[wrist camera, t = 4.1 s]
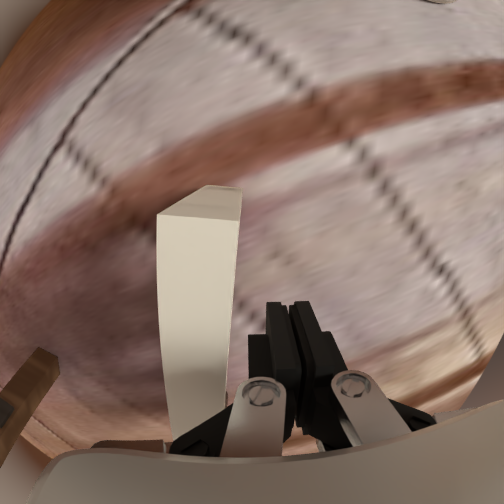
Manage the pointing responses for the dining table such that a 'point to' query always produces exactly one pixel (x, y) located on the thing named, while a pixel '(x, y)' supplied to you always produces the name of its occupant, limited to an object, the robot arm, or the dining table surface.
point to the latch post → (24, 396)
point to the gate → (196, 301)
